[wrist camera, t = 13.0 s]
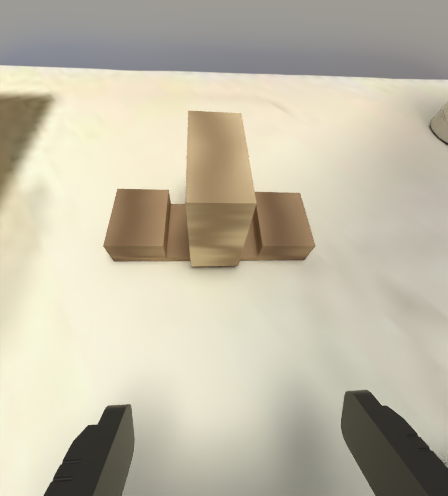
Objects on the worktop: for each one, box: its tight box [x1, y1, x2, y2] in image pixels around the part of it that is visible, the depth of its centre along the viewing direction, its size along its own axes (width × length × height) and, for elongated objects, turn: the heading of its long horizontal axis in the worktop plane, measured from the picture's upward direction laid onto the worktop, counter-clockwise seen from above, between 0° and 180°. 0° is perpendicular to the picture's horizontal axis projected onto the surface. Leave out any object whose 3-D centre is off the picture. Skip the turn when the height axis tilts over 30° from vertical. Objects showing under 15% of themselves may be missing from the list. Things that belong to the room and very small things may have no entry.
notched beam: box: [103, 189, 315, 261], centre depth 21 cm, size 17×6×2 cm, turn 93°
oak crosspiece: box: [185, 111, 256, 266], centre depth 19 cm, size 4×9×8 cm, turn 3°
